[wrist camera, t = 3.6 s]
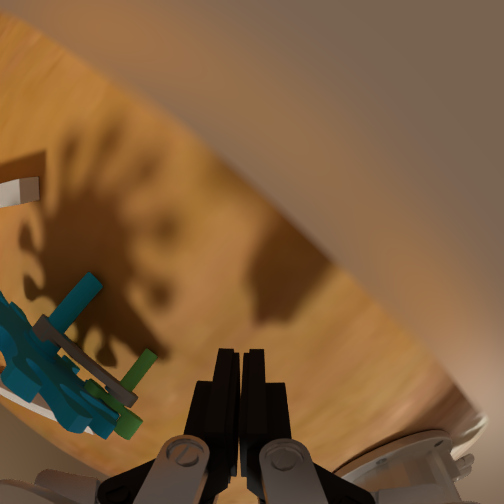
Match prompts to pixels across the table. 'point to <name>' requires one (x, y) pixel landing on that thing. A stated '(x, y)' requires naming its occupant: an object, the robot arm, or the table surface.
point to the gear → (67, 368)
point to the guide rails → (10, 196)
